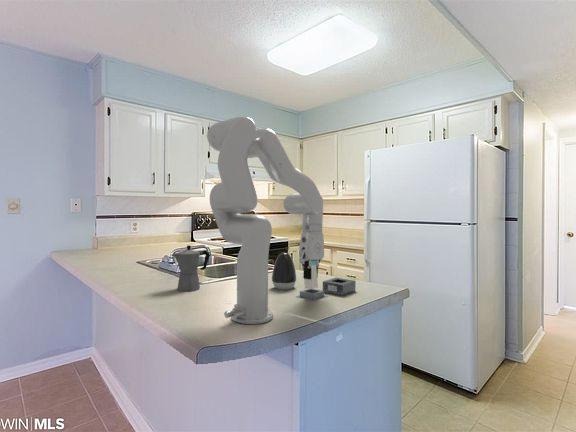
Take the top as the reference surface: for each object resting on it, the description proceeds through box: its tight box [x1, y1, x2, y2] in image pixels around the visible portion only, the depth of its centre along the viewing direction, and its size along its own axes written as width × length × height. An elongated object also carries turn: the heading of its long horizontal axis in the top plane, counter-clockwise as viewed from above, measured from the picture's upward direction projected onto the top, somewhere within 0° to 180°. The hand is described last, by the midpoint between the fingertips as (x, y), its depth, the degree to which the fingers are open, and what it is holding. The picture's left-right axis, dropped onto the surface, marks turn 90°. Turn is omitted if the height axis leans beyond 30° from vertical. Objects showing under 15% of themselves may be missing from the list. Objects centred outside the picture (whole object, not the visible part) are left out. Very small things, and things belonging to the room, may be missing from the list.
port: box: [322, 277, 356, 297], centre depth 132 cm, size 10×9×5 cm
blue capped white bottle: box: [302, 260, 319, 290], centre depth 124 cm, size 4×4×10 cm
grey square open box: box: [295, 288, 329, 302], centre depth 125 cm, size 9×9×3 cm
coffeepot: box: [172, 244, 211, 293], centre depth 138 cm, size 15×9×18 cm, turn 121°
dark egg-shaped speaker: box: [271, 252, 297, 291], centre depth 139 cm, size 10×10×15 cm
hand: (310, 277), depth 124 cm, fingers closed on blue capped white bottle, 3 cm apart
